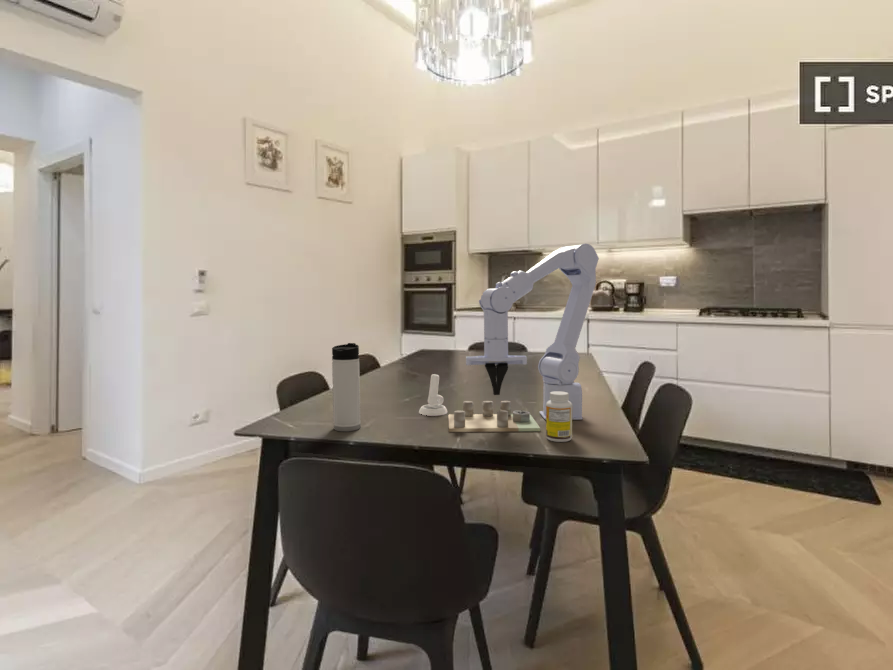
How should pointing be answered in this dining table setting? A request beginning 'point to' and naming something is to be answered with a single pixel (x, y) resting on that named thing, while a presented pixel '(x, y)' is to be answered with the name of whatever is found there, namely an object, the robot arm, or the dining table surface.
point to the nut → (521, 416)
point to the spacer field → (482, 419)
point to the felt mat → (528, 425)
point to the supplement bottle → (559, 417)
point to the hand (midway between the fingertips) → (496, 394)
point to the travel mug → (346, 387)
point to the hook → (434, 400)
